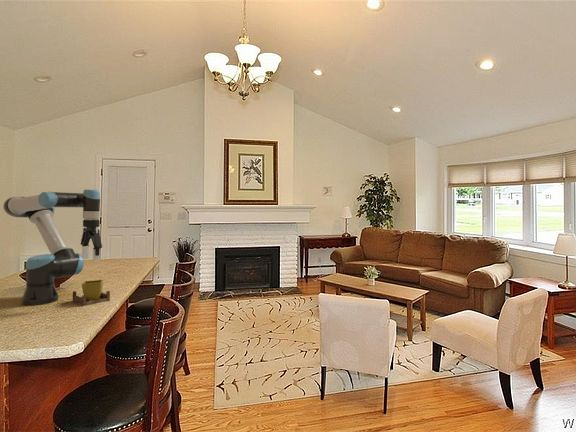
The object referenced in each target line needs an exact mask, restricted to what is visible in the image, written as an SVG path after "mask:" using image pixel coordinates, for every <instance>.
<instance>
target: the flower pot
mask: <svg viewBox="0 0 576 432" xmlns="http://www.w3.org/2000/svg"><path fill="white" fill-rule="evenodd" d="M103 283H104V280H103V279H96V280H88V281H87V280H86V281H83V282H82V283H81V289H82V295H86V300H90V301H93V300H94V299H99V297H100V295H101V292H103V287H104V284H103Z"/></svg>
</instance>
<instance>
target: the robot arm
mask: <svg viewBox="0 0 576 432" xmlns="http://www.w3.org/2000/svg"><path fill="white" fill-rule="evenodd" d="M55 208H82V219H83V220H82V227H83V228H82V235H81V240H80V245H81V246H82V251H81V252H82V253H77V252H75V251H74V249H73V248H72V247H69V246H68V245H67V243H66V240H65V239H64V237H63V235H62V233H61V232H60V230H59V228H58V226H57V224H56V223H55V221H54V218H53V217H54V214H55ZM100 209H101V192H100V190H98V189H84V190H83V191H82V193H80V192H58V191H42V192H41V193H40V194H36V195H31V196H30V195H29V196H12V197H9V198H7V199H6V200H5V201H4V203H3V210H4V212H5V213H6V214H8V215H9V216H11V217H14V218H28V219H29V221H30V223H32V224H35V226H36V228H37V229H38V232H39V234H40V235H41V238H42V240H43V241H44V243H45V245H46V247H47V249H48V250H49V253H46V254H45V253H43V254H38V255H34V256H33V255H32V256H31V257H29V258H27V260H26V265H25V271H26V272H25V274H26V275H25V277H26V279H25V281H26V282H25V284H26V286H25V290H24V292H23V295H22V298H21V304H22V305H26V306H35V305H36V306H37V305H46V304H50V303H53V302H56V301H58V300H59V293H58V290H57V288H56V286H55V279H60V278H65V277H73V276H77V275H79V274H80V273H81V272H82V271H83V269H84V266H85V265H84V264H85V259H86V260H87V259H89V254H90V253H89V250H90V249H89V248H90V245H89V244H90V241H92V244H93V245H92V246H93V248H92V249H93V254H92V255H93V260H92V261H93V263H99V262H100V261H101V259H100V258H101V257H100V256H101V249H102V248H103V244H102V238H101V233H100V232H101V231H100V229H98V228H99V227H100V226H101V225H100V218H101V216H100V215H101V213H100V212H101V211H100Z"/></svg>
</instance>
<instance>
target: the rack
mask: <svg viewBox="0 0 576 432" xmlns="http://www.w3.org/2000/svg"><path fill="white" fill-rule="evenodd" d="M110 295H111V290H106V292H103V291H102V292H101V295H100V297H99V299H94V300H86V295H84V294H82V296H78V295H77V291H76V290H74V291H72V302H74V303H75V304H78V303H79V304H78V305H81V306H82V305H83V307H84V306H89V305H95V304H99V303H104V302H109V301H111V296H110Z"/></svg>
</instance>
